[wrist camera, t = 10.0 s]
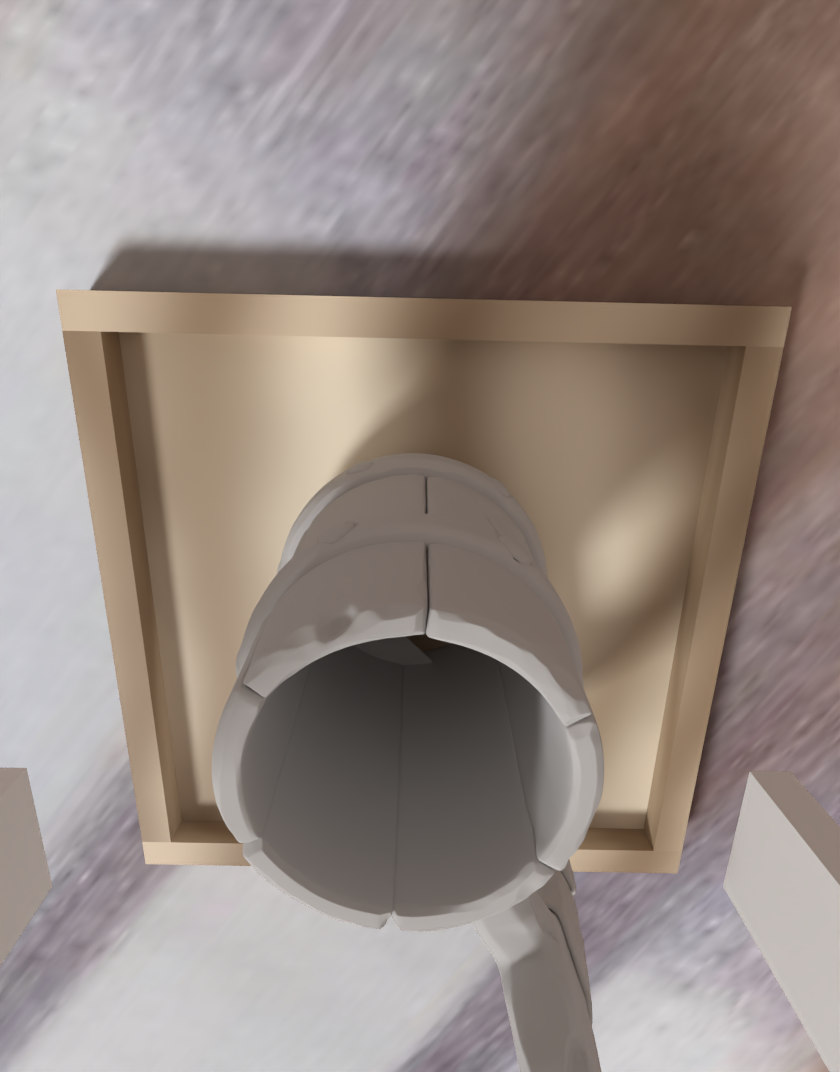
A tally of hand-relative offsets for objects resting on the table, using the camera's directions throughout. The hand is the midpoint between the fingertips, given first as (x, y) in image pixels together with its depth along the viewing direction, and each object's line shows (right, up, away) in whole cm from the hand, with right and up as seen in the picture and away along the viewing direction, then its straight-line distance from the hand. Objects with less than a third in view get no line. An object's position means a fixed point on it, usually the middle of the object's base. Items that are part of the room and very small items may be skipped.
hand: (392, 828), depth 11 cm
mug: (+1, +3, +9) cm, 9 cm away
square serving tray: (0, +3, +9) cm, 9 cm away
